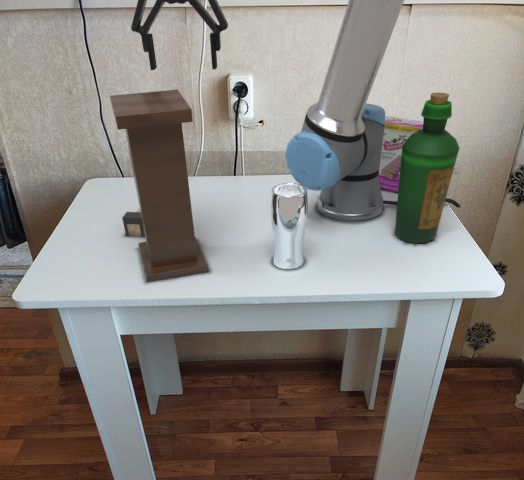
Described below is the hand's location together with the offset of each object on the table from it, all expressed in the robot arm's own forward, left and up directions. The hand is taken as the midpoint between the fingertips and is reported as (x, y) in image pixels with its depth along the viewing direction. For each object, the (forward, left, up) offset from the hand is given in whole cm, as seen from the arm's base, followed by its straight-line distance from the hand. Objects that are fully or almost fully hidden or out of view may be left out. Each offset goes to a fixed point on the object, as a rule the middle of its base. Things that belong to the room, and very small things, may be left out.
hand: (184, 68), depth 113 cm
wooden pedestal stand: (0, +34, -29) cm, 44 cm away
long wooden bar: (+9, +12, -29) cm, 33 cm away
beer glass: (-24, +34, -29) cm, 51 cm away
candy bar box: (-50, -4, -29) cm, 58 cm away
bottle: (-51, +22, -29) cm, 63 cm away
